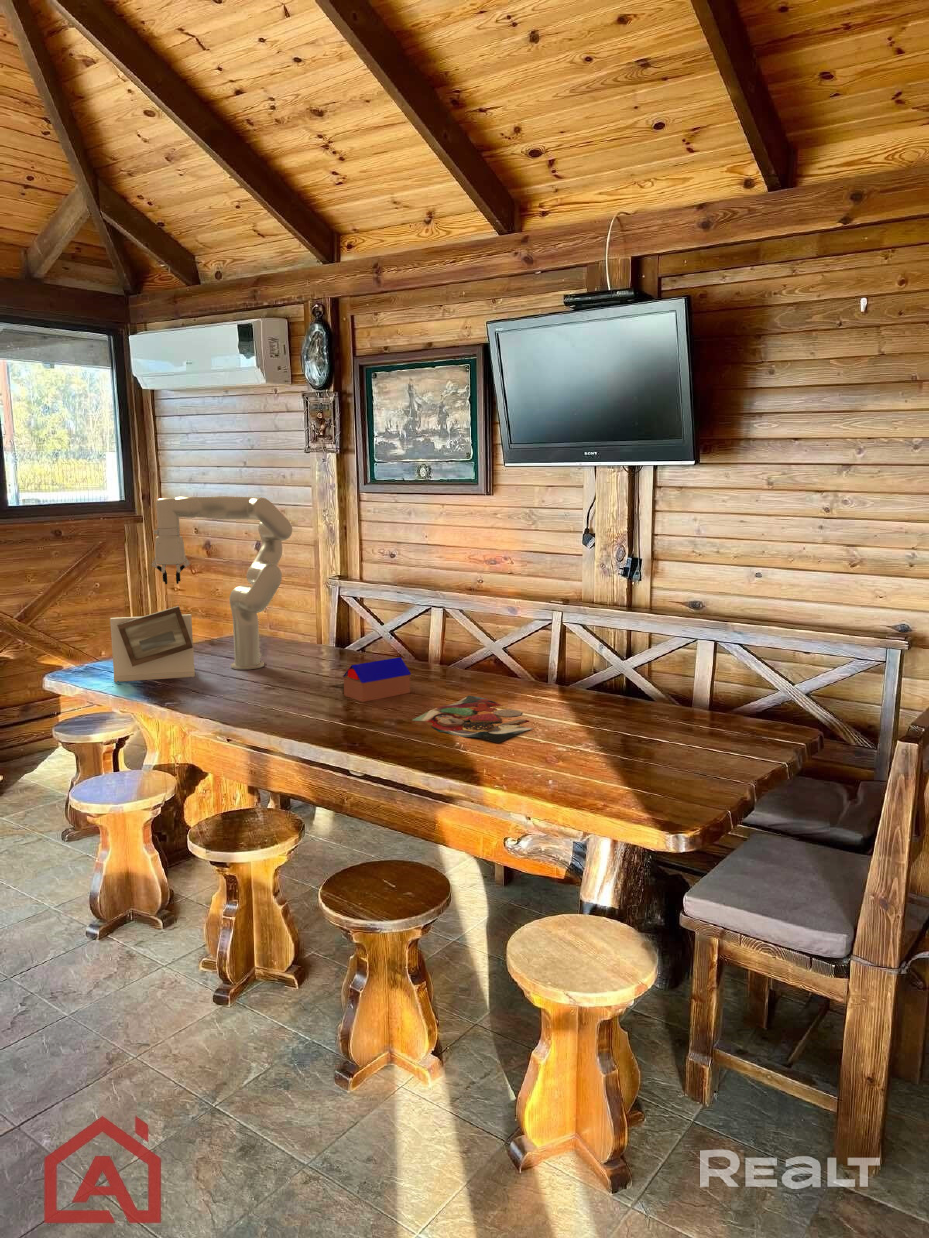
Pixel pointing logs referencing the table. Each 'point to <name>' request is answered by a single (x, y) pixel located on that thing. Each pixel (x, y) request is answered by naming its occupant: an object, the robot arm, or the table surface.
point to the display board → (154, 669)
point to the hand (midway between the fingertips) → (171, 583)
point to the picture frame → (155, 636)
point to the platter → (474, 720)
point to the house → (377, 680)
